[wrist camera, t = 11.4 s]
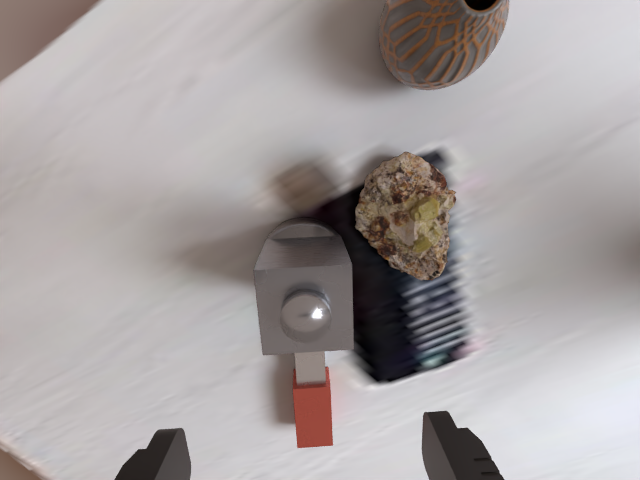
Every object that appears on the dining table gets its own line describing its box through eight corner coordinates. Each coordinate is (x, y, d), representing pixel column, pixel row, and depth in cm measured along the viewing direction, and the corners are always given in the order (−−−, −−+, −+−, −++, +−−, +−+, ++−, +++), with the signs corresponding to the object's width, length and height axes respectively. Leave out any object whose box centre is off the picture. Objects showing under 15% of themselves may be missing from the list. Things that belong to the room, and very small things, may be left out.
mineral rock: (332, 183, 24) (446, 141, 21) (341, 170, 27) (438, 133, 25) (381, 303, 27) (485, 280, 24) (382, 277, 31) (472, 254, 28)
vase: (396, 114, 24) (444, 99, 16) (352, 22, 23) (381, -50, 14) (480, 64, 24) (577, 20, 15) (442, -36, 22) (529, -147, 13)
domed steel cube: (340, 235, 24) (354, 271, 17) (342, 302, 25) (356, 359, 18) (266, 239, 24) (250, 277, 17) (272, 307, 25) (260, 366, 18)
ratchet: (345, 215, 26) (356, 235, 20) (349, 420, 32) (360, 483, 26) (258, 219, 26) (244, 241, 20) (278, 425, 32) (272, 490, 26)
